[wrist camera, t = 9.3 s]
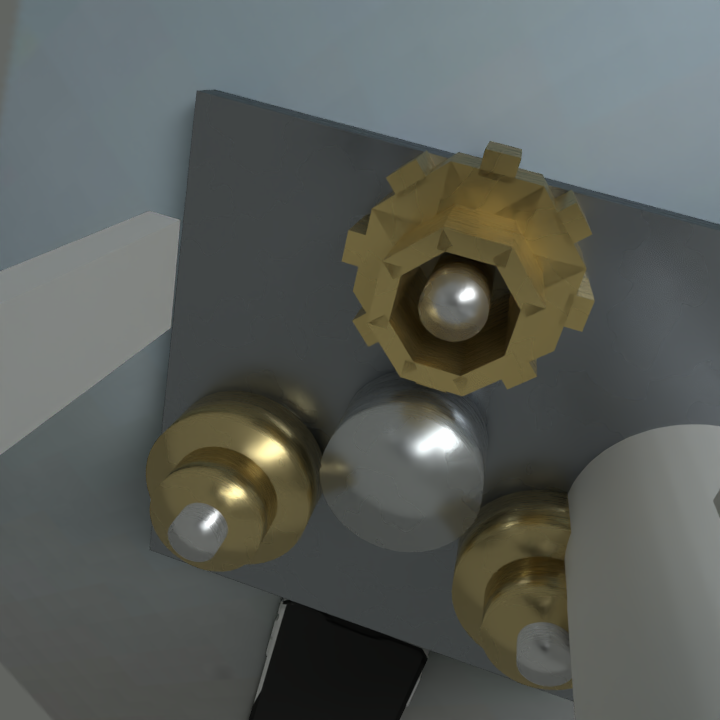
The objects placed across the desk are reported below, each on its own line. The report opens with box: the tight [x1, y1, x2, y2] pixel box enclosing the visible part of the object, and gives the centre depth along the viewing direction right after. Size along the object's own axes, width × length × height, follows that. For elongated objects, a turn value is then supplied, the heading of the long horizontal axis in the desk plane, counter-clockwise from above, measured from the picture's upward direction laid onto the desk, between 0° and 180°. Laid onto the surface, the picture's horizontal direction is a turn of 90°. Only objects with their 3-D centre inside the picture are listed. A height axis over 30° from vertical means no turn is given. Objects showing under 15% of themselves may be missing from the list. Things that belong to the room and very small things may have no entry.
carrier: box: [146, 90, 720, 702], centre depth 25 cm, size 22×22×7 cm
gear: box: [342, 141, 595, 396], centre depth 21 cm, size 8×8×6 cm
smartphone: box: [249, 598, 429, 720], centre depth 37 cm, size 8×1×15 cm
